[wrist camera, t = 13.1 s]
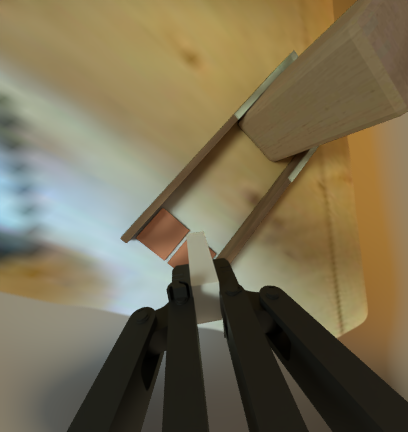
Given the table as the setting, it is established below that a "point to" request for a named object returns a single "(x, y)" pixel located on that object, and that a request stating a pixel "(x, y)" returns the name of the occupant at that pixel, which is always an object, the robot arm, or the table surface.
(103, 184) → the table surface
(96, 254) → the table surface
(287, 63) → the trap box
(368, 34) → the wooden block
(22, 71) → the table surface
